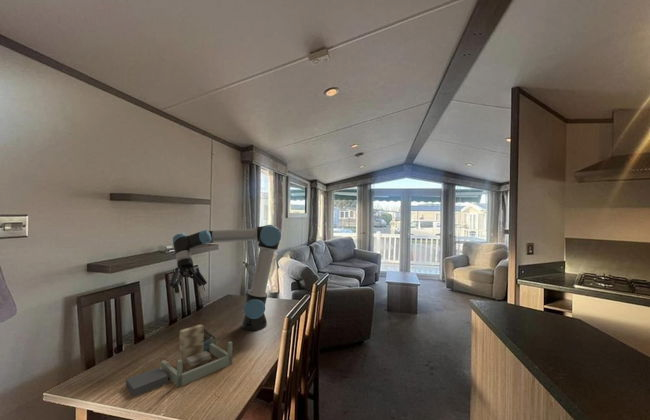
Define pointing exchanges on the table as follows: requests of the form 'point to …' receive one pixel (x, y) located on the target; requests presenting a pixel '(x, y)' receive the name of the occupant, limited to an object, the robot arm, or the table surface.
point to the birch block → (191, 342)
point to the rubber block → (146, 381)
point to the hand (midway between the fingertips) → (192, 298)
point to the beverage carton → (208, 340)
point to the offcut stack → (196, 361)
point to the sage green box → (201, 371)
